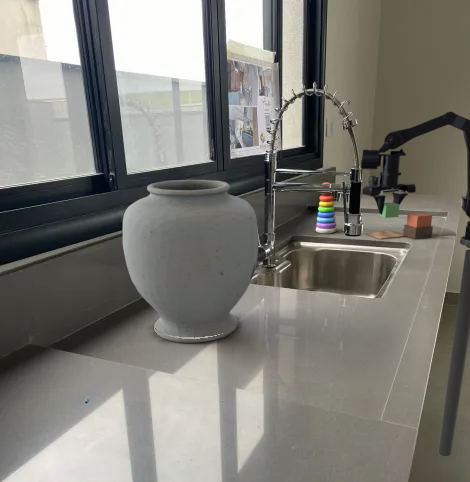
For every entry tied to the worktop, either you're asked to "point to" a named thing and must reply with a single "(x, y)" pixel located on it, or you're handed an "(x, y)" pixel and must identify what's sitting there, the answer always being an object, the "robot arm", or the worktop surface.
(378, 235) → the cork coaster
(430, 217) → the terracotta block
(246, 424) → the worktop surface
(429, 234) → the walnut block
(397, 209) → the green block
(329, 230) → the stacking toy
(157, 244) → the grey vase
